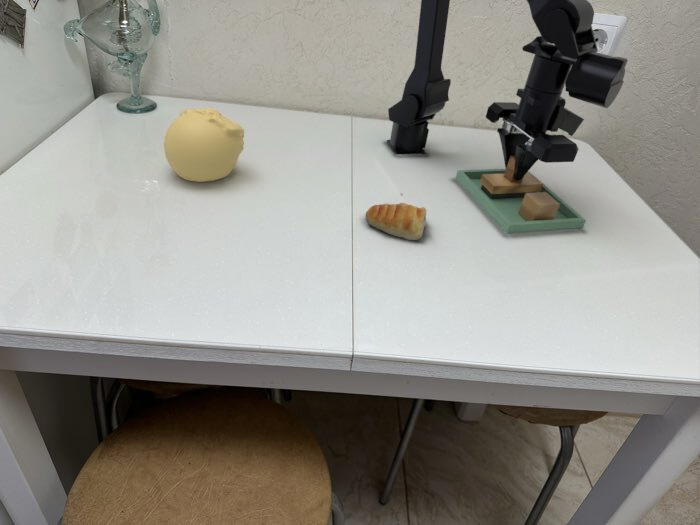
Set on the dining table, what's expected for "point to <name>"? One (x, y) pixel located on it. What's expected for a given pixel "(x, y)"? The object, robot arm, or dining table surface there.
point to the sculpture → (203, 145)
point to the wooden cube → (538, 207)
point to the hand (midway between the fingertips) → (513, 176)
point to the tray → (516, 206)
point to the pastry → (398, 219)
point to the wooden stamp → (509, 183)
